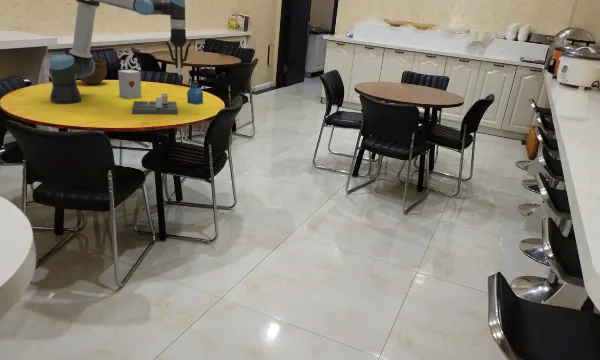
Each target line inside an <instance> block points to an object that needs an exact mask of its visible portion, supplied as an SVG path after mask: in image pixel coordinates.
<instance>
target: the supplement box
mask: <svg viewBox="0 0 600 360" xmlns="http://www.w3.org/2000/svg"><path fill="white" fill-rule="evenodd" d="M117 74H118V90H119V97H122V98H125V99H127V100H129V99H138V98H142V81H141V71H139V70H134V69H121V70H118V71H117Z"/></svg>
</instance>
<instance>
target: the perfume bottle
mask: <svg viewBox="0 0 600 360" xmlns="http://www.w3.org/2000/svg"><path fill="white" fill-rule="evenodd" d="M191 83H192V84H191V87H190V88H189V89H188V90H187V92H186V93H187V94H186V95H187V96H186V97H187V101H186V102H187V104H192V105H200V104H203V103H204V92H203V90H202V89H201V87H199V84H198V83H199V82H198V81H192V82H191Z"/></svg>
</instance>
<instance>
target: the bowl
mask: <svg viewBox="0 0 600 360" xmlns="http://www.w3.org/2000/svg"><path fill="white" fill-rule="evenodd" d="M92 59H93V61H94V63H95V69H94V72H93V73H92V74H91V75H89V76H87V77H82V78H78V79H79V80H80V81H81V82H83V83H84V84H88V85H97V84H100V83H102V82H103V81H104V80H105V79H106V77H107V75H108V74H107V73H108V68H107V61H106V60H104V59H100V58H92Z"/></svg>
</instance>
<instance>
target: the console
mask: <svg viewBox="0 0 600 360" xmlns="http://www.w3.org/2000/svg"><path fill="white" fill-rule="evenodd" d="M131 111H132V112H131V113H132V115H178V106H177V102H176V101H170V100H169V101H168V104H162V108H156V100H155V101H153V100H151V101H149V100H148V101H146V100H145V101H144V100H143V101H142V100H134V101H133V105H132V109H131Z"/></svg>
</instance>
